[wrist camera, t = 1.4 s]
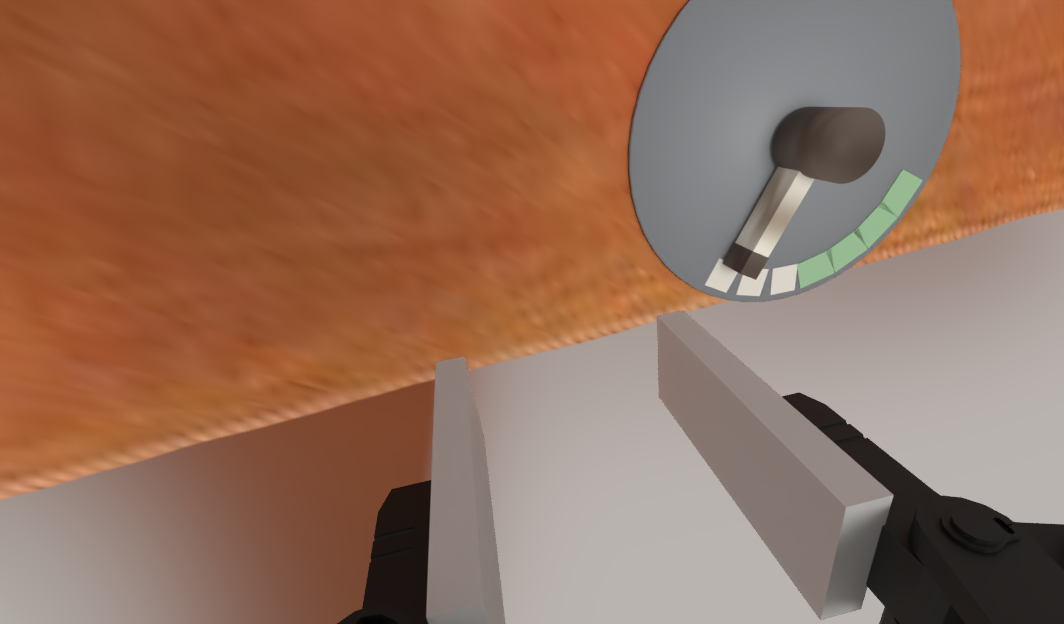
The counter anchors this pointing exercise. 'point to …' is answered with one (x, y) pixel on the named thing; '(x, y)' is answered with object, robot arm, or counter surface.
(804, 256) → the dial
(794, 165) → the needle
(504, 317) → the counter surface
